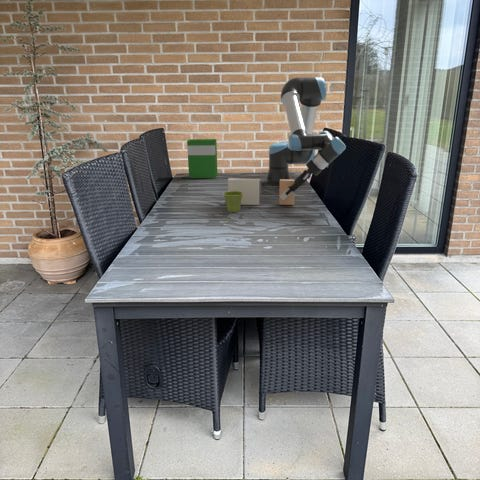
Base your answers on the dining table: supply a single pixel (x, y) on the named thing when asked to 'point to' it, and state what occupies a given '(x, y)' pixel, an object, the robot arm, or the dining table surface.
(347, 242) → the dining table surface
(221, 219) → the dining table surface
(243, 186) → the block
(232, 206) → the plant pot
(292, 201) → the tan rectangular block
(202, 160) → the hardback book
